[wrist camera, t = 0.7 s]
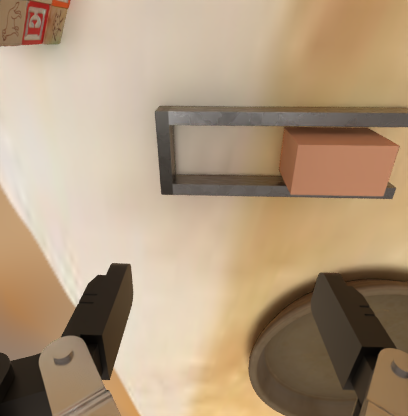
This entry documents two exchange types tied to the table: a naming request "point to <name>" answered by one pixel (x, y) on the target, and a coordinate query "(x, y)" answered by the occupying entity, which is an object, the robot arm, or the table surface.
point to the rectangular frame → (257, 117)
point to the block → (336, 161)
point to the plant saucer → (317, 353)
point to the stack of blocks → (32, 21)
